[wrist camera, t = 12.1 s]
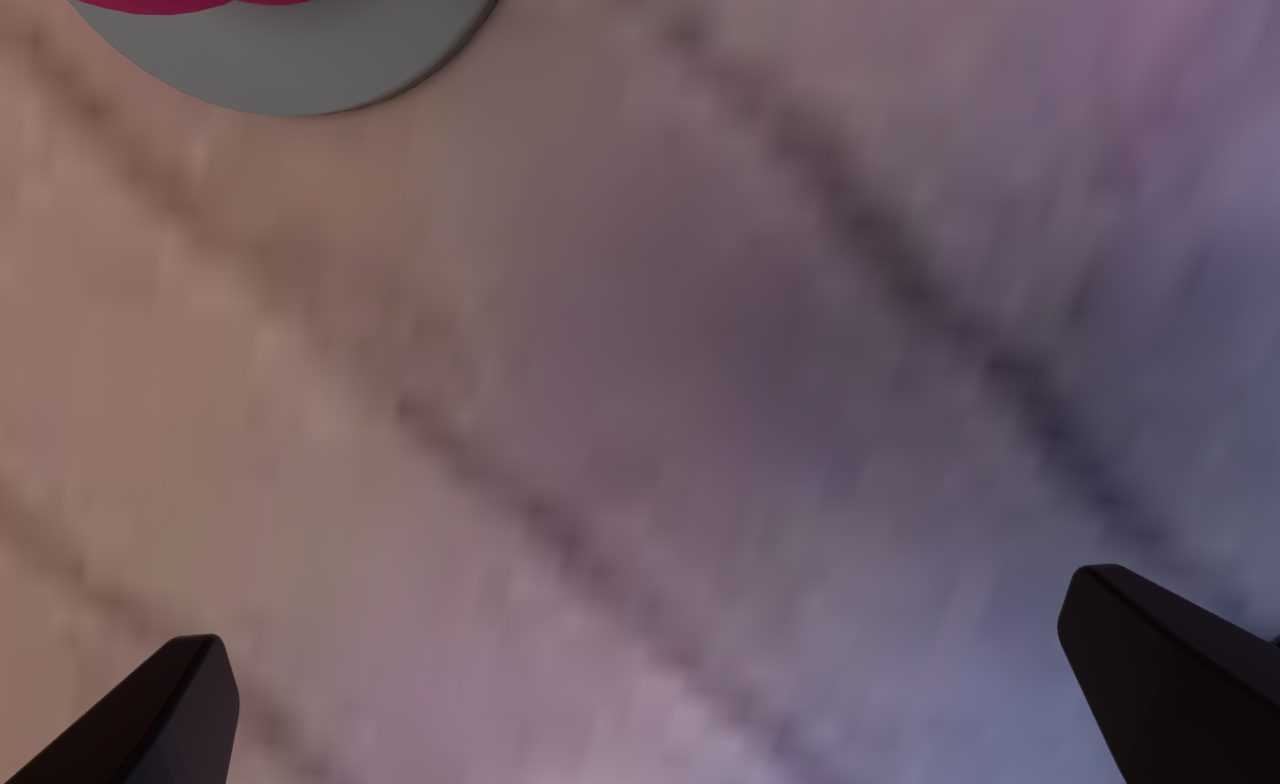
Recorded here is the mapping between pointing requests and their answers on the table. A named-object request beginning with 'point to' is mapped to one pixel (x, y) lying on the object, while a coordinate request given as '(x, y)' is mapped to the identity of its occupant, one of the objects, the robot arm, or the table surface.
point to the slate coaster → (294, 50)
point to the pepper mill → (174, 5)
